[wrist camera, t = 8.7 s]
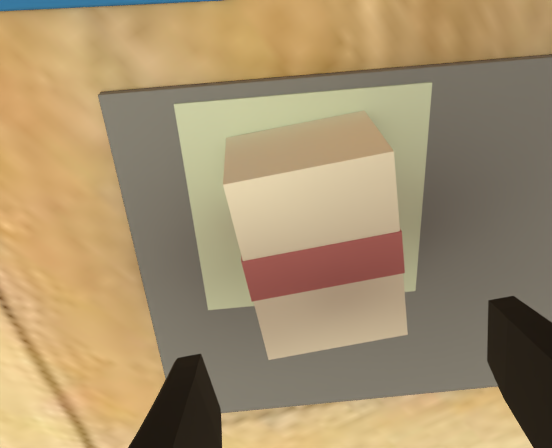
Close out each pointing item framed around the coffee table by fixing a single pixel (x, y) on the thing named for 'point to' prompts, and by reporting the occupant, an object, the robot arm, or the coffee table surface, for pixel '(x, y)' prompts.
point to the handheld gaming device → (76, 3)
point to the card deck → (318, 233)
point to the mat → (411, 205)
